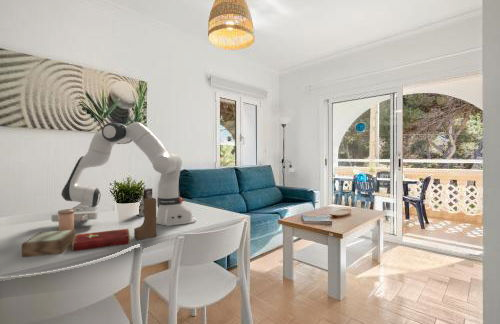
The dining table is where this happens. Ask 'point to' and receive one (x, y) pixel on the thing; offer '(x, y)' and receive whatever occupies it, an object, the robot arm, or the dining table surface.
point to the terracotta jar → (66, 219)
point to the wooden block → (147, 221)
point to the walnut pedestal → (48, 243)
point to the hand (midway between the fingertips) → (70, 219)
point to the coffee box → (146, 195)
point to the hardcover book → (100, 239)
